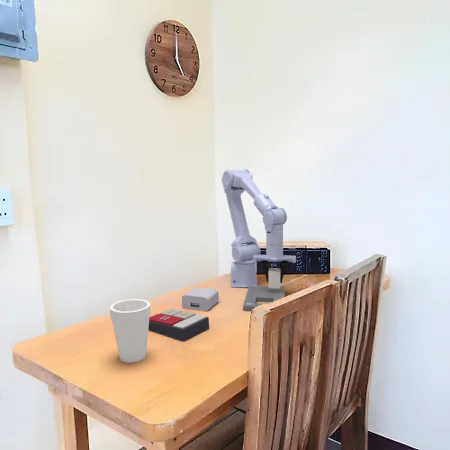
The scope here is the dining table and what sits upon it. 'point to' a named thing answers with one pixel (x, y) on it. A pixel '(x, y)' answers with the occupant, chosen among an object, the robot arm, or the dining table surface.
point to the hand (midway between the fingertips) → (274, 281)
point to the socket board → (261, 296)
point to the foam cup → (131, 328)
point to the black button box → (178, 324)
